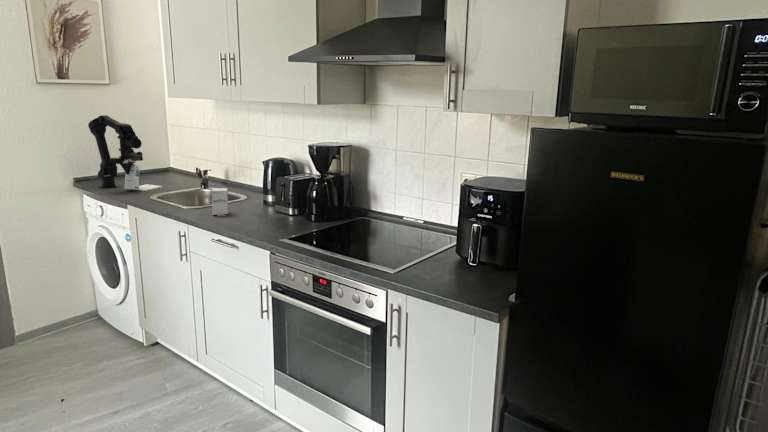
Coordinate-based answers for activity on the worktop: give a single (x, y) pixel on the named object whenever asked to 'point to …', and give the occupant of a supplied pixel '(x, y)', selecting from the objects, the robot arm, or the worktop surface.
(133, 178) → the syrup box
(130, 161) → the robot arm
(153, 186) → the mat
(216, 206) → the supplement box
